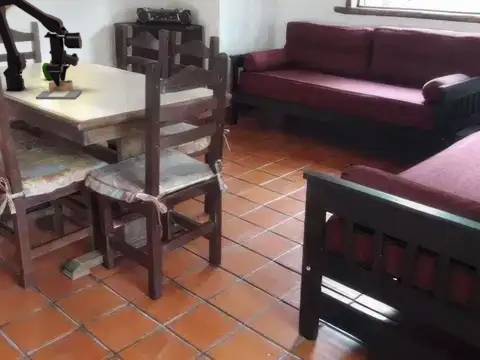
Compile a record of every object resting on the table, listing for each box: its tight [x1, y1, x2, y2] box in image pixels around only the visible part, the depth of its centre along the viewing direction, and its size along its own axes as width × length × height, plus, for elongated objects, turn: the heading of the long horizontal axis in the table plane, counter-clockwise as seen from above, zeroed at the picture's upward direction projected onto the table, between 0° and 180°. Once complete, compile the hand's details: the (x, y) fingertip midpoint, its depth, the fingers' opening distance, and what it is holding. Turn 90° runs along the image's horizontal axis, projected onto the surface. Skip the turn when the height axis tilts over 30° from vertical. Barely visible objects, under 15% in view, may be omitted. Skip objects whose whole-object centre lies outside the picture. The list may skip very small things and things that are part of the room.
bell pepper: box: [41, 59, 53, 81], centre depth 262 cm, size 8×8×10 cm
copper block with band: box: [48, 79, 74, 91], centre depth 241 cm, size 9×5×4 cm, turn 92°
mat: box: [35, 90, 82, 100], centre depth 231 cm, size 16×12×1 cm
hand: (60, 84), depth 241 cm, fingers open, 9 cm apart
